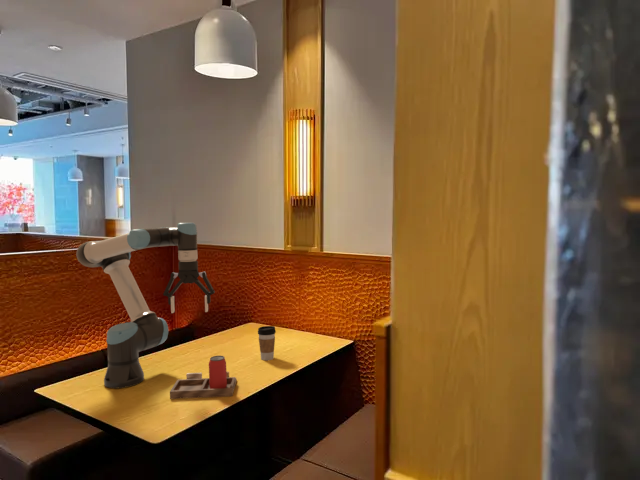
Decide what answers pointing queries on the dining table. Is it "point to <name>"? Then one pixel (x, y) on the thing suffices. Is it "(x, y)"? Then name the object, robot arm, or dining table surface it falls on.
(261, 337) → the coffee cup
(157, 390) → the dining table surface
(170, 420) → the dining table surface
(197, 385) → the brown desk organizer
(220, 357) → the beer can
